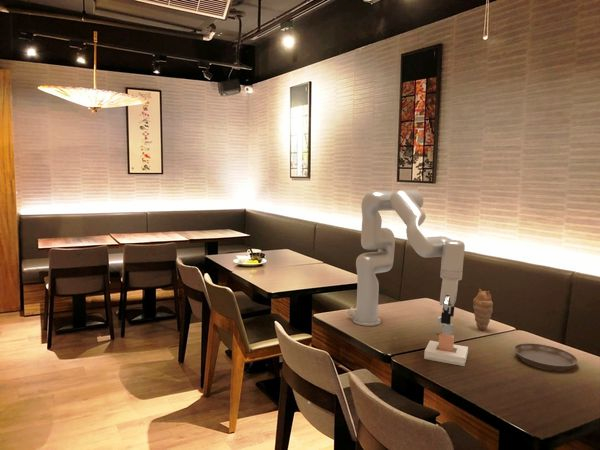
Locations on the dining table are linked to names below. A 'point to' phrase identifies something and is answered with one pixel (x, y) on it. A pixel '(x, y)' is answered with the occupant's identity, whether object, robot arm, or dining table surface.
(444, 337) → the block
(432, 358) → the holder
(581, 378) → the dining table surface
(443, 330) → the white plastic device
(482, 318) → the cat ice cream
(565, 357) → the plant saucer
